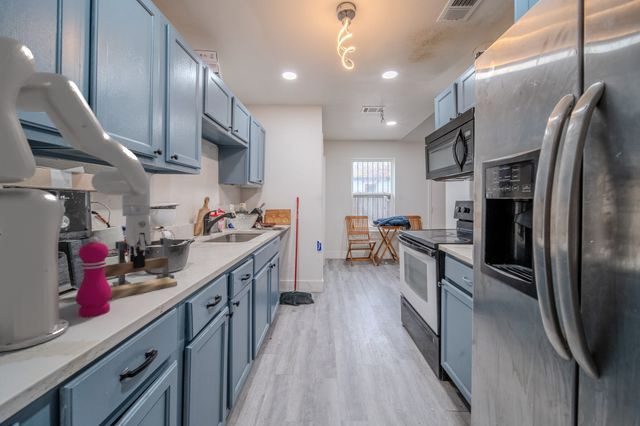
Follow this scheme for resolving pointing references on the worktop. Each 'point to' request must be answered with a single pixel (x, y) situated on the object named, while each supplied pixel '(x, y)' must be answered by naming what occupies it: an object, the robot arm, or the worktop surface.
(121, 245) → the hook stands
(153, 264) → the walnut rail
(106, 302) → the pepper mill
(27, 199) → the robot arm
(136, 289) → the oak board
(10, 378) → the worktop surface
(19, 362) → the worktop surface
